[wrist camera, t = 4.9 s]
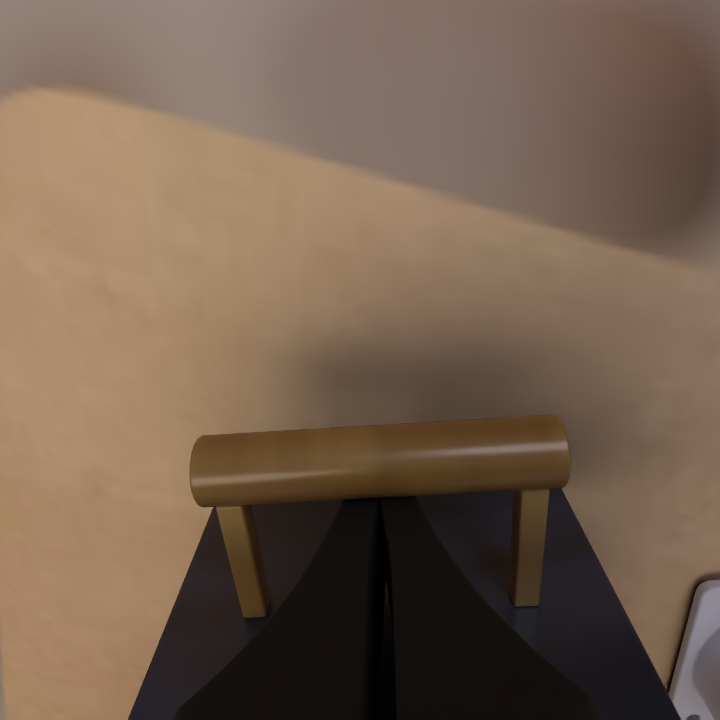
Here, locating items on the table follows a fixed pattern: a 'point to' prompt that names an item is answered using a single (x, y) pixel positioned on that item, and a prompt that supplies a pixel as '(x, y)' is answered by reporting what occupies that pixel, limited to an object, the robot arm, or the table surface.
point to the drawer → (448, 519)
